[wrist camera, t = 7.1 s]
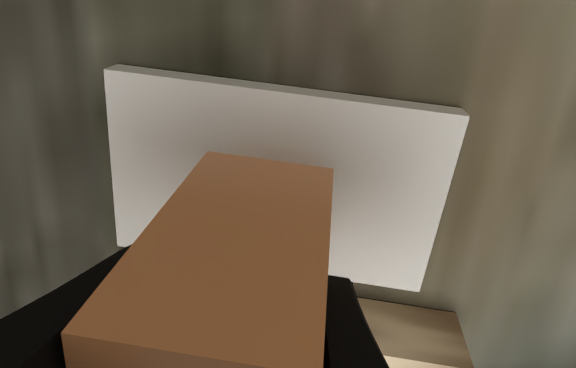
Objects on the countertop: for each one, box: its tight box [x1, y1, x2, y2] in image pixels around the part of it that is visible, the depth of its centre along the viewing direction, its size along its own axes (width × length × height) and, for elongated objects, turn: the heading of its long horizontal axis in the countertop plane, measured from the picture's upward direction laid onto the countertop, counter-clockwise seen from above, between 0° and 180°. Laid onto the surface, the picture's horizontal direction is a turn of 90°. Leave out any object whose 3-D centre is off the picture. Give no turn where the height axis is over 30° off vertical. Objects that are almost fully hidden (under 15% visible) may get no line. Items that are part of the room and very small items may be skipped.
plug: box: [61, 151, 334, 368], centre depth 11 cm, size 4×4×8 cm
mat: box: [104, 64, 470, 292], centre depth 16 cm, size 12×7×1 cm, turn 84°
